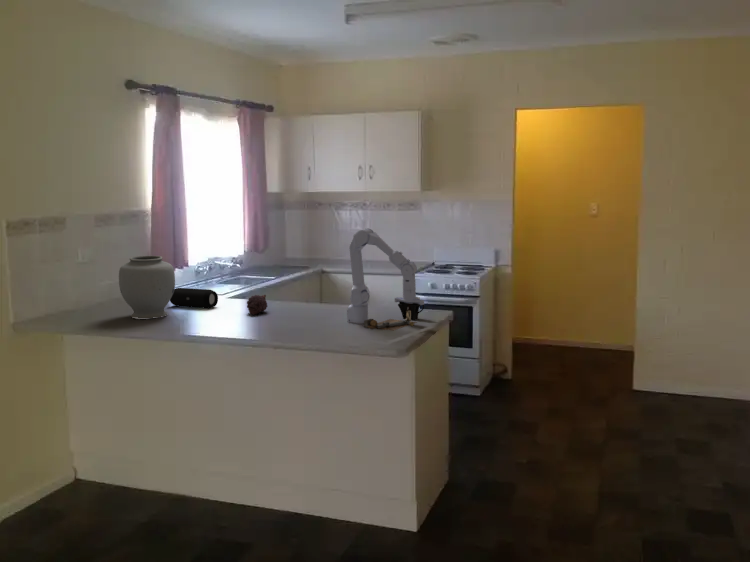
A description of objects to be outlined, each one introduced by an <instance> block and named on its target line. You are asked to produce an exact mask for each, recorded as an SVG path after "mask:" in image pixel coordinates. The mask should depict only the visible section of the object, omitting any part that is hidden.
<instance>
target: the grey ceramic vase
mask: <svg viewBox="0 0 750 562" xmlns="http://www.w3.org/2000/svg"><path fill="white" fill-rule="evenodd" d="M128 260H129V262H127V263H124V264H122V265H121V266H120V267H119V271H118V287H119V291H120V293H121V294H120V295H121V296H122V298H123V300H124V301H125V303H126V304H127V305H128V306H129V307H130V308H131V309H132V310H133V312H132V314H131V315H130V317H131V316H132V317H138V318H153V317H161V316H165V315H167V316H168V312H167V311H165V308H166V307H167V305H168V303H169V302H170V299H171V297H172V295H173V293H174V289H176V275H175V273H176V272H175V268H174V267H173V265H172V264H171V263H169V262H167V261H163V256H161V255H136V256H131V257H129V259H128ZM165 317H166V316H165Z"/></svg>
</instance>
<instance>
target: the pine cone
mask: <svg viewBox="0 0 750 562" xmlns="http://www.w3.org/2000/svg"><path fill="white" fill-rule="evenodd" d="M266 297H267V295H266V294H262V295H259V294H257V295H256V294H255V295H252V296H251V297H248V300H247V301H246V304H247V305H246V308H247V310H248V312H249V314H251V315H257V314H259V313H263V312H265V310H266V309H267V308H268V302H267V300H266Z"/></svg>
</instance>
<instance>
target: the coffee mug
mask: <svg viewBox="0 0 750 562" xmlns="http://www.w3.org/2000/svg"><path fill="white" fill-rule="evenodd" d="M416 299H420V300H421V298H420V297H419V296H416ZM414 303H415V302H414ZM410 305H412V304H411V303H408V307H407V310H410V311H411V307H410ZM424 309H425V304H424V305H422V308H421V309H420V308H419V309H418V312H417V315H416V319H415V320H414V321H417V320H418V318H419V314H420V313H421V312H423V310H424ZM405 320H406V319H404V321H405ZM411 321H413V320H412V312H411Z"/></svg>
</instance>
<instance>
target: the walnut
mask: <svg viewBox="0 0 750 562" xmlns="http://www.w3.org/2000/svg"><path fill="white" fill-rule="evenodd" d="M377 323H378V321H377V320H376V319H374V320H372V321H371V322H370V325H371V326H374V327H376V325H377Z"/></svg>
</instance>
